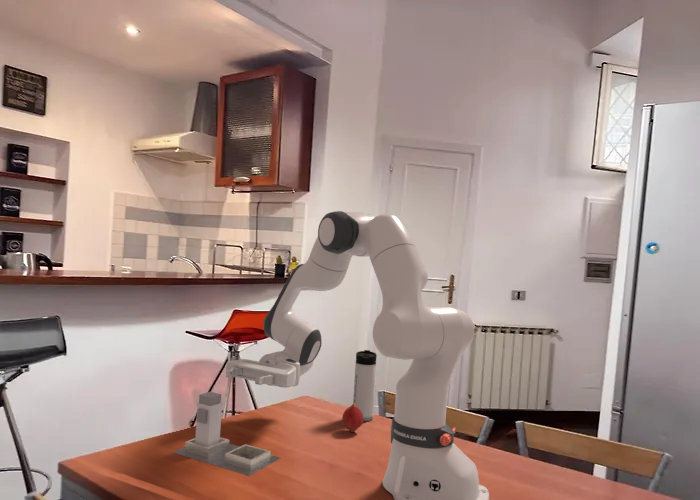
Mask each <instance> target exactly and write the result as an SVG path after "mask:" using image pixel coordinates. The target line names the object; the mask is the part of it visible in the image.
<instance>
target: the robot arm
mask: <svg viewBox="0 0 700 500" xmlns="http://www.w3.org/2000/svg"><path fill="white" fill-rule="evenodd" d="M353 256H355V257H362V258H363V257H369V260H370V263H371V265H372V266H371V267H373V271H374V273H375V276H376V278H377V282H378V285H379V289H380V291H381V296H382V306H381V311H380V313H379V314H378V315H377V317H376V318H375V321H374V323H373V327H372V339H373V342H374V345H375V348H376V349H377V351H378V352H379V353H380V355H383V356H385V357H387V358H392V359H397V360H402V361H403V360H405V361H406V360H412V361H411V365H410V366H409V367H408V369H407V371H406V372H405V373H404V374H403V375H402V376H401V377H400V378H399V379H398V381H397V383H396V387H395V399H394V401H395V402H394V413H393V414H394V416H393V417H392V419H391V427H390V444H391V447H390V454H389V458H388V463H387V468H386V469H385V474H384V475H383V476H384V477H383V479H382V486H383V488H384V489H385V490H386V491H387V492H388V493H390V494H391V495H392V497H393V499H394V500H490V492H489V490H488V489H487V487H486V486H485V485H482V484H480V479H479V471H478V468H477V466H476V464H475V462H473V460H471V459H470V457H468V456H467V455H466V454H465V453H464V452H463V451H462V450H461V449H460V448H459V447H458V446H457V445H456V444H455V443H454V438H455V434H456V427H453V428H451V427H450V426H449V424H447V422H446V417H447V408H448V407H447V406H448V404H447V403H448V396H449V394H448V393H449V389H450V385H451V381H452V377H453V375H454V372H455V370H456V367H457V365H458V362H459V361H460V358H461V357H462V356H463V354H464V353H465V351H467V349H468V348H469V347H471V345H472V344H473V341H474V339H475V325H474V322H473V320H472V318H471V317H470V315H469V314H467V313H466V312H465V311H463V310H461V309H458V308H455V307H450V306H446V305H445V306H443V305H442V306H427V305H426V304H425V302H424V301H423V297H422V291H423V290H424V289H425V287H426V285H427V282H428V280H429V275H428V272H427V270H426V266H425V265H424V263H423V260H422V258H421V255H420V254H419V250H418V249H417V246H416V244H415V242H414V241H413V238H412V236H411V234H410V233H409V231H408V230H407V228H406V226H405V225H404V223H403V222H402V221H401V219H400V218H398V216H396V215H393V214H390V213H384V214H379V215H374V214H370V213H365V212H360V211H359V212H358V211H342V210H338V211H331V212H328V213H326V214H325V215H324V216H323V217H322V218H321V220H320V223H319V224H318V229H317V237H316V238H315V241H314V243H313V246H312V249H311V251H310V254H309V257H308V259H307V260H306V262H305V263H300V264H298V265H296V266H295V267H294V269H293V270H292V271H291V273H290V275H288V278H287V279H286V281H285V283H284V284H283V287H282V288H281V290H280V293H278V297H277V298H276V299H275V302H274V304H273V305H272V307H271V308H270V310H269V311H268V312H267V314H266V315H265V317H264V319H263V324H262V327H263V332H264V335H265V336H266V337H268V338H269V339H271V340H273V341H275V342H277V343H278V344H279V345H280V346H282V347H284V349H283V350H281V351H280V350H279V351H275V352H271V353H266V354H263V356H262V357H261V358H260V359H259V361H257V360H252V359H249V358H248V359H246V358H239V359H233V360H228V361H227V362H226V364H225V377H226V378H228V379H234V378H239V379H243V380H247V381H251V382H254V384H255V385H258V386H262V385H267V386H272V387H279V388H283V389H287V388H291V387H297V386H299V383H300V377H301V376H304V374H306V373H307V372H309V371H310V370H311V369H312V367H313V365H314V361H315V359H316V358H317V357H318V354H319V353H320V350H321V348H322V335H321V331H320V329H318V328H316V327H315V326H314V325H313V324H311V323H310V322H307V321H306V320H305V319H303V318H302V317H300V316H299V315H297V314H296V313H295V312H294V311H293V305H294V304H295V302H296V300H297V298H298V296H299V295H300V293H301V291H302V290H305V289H306V290H311V291H315V292H316V291H317V292H326V291H330V290H334V289H336V288H337V287H338V286H340V285H341V284H342V282H343V281H344V278H345V277H346V274H347V271H348V269H349V266H350V263H351V260H352V257H353Z"/></svg>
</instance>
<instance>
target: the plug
mask: <svg viewBox="0 0 700 500" xmlns="http://www.w3.org/2000/svg"><path fill="white" fill-rule="evenodd" d="M196 409H197V411H196V421H195V422H196V424H195V437H194V438H195V444H198V445H202V446H205V447H211V446H213V445H215V444H218V443H220V437H221V430H222V429H221V427H222V425H221V423H222V413H223V410H222V409H223V402H222V393H218V392H213V391H207V392H203V393H202V394H199V395H198V402H197V407H196Z"/></svg>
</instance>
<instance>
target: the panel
mask: <svg viewBox="0 0 700 500" xmlns="http://www.w3.org/2000/svg"><path fill="white" fill-rule="evenodd" d="M271 452H272V451H271V450H269V449H264V448H261V447H257V446H253V445H250V444H247V443H246V444H242V445H241V446H240V445H236V444H232V443H230V439H229V438H224V437H221V436H220V443H218V444H215V445H213V446H211V447H205V446H202V445H198V444H195V437H194V438H192V439H188V440H187V441H185V442H184V447H182V448H180V449H177V450H174V451H172V453H173V454H176V455H180V456H182V457H187V458H189V459H192V460H196V461H199V462H202V463H206V464H209V465H212V466H216V467H218V468H222V469H226V470H228V471H232V472H235V473H239V474H241V475H245V476H248V477H249V476H251V475H253V474H255V473H257V472H258V471H260V470H262V469H265V468H267V466H270V465H271V464H273V463H276V462H277V461H279V460H280V459H281V457H279V456H277V455H273V454H271Z"/></svg>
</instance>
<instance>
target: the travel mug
mask: <svg viewBox="0 0 700 500" xmlns="http://www.w3.org/2000/svg"><path fill="white" fill-rule="evenodd" d="M377 357H378V356H377V353H376V352H373V351H371V350H369V349H364V350H362V351H361V350H360V351H357V352H356V353H355V368H354V383H353V399H352V404H353V403H355V404H356V407H358V408H359V409H360V410H361V412H362V414H363V422H371V421H372V420H373V418H374V408H375V407H374V405H375V404H374V403H375V389H376V388H375V387H376V376H377V375H376V373H377V372H376V371H377Z"/></svg>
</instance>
